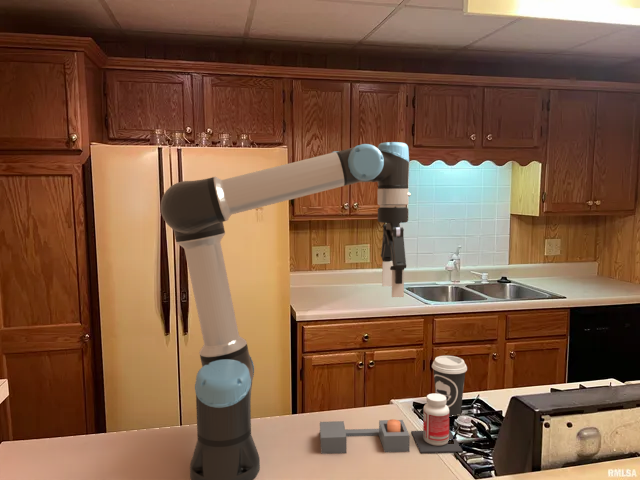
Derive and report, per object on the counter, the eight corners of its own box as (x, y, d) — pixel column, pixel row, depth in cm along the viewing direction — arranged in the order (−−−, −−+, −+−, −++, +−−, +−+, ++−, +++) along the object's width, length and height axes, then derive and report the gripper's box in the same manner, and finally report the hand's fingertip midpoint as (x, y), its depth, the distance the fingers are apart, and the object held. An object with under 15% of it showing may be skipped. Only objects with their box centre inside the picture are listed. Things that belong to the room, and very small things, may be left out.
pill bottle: (454, 442, 117) (455, 398, 116) (436, 449, 114) (437, 404, 113) (435, 431, 122) (435, 389, 121) (417, 438, 119) (418, 395, 118)
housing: (321, 453, 113) (321, 437, 113) (319, 433, 123) (319, 418, 123) (409, 451, 114) (409, 435, 113) (400, 431, 124) (401, 416, 123)
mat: (420, 453, 113) (420, 451, 113) (411, 432, 123) (411, 430, 123) (462, 452, 113) (462, 450, 113) (450, 431, 123) (450, 430, 123)
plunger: (388, 445, 116) (388, 425, 116) (386, 438, 119) (386, 419, 119) (401, 445, 116) (401, 425, 116) (398, 438, 119) (399, 419, 119)
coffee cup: (470, 420, 129) (471, 366, 128) (435, 420, 130) (435, 366, 128) (461, 404, 139) (462, 354, 138) (428, 404, 139) (428, 354, 138)
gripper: (420, 207, 106) (419, 301, 108) (398, 205, 131) (397, 281, 133) (386, 207, 106) (386, 302, 108) (370, 205, 131) (370, 282, 133)
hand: (392, 291), depth 120 cm, fingers open, 13 cm apart
